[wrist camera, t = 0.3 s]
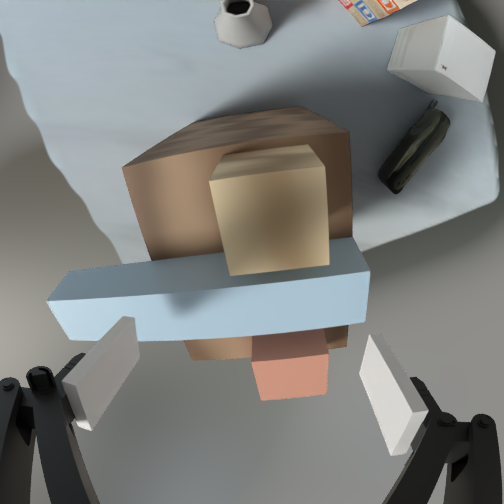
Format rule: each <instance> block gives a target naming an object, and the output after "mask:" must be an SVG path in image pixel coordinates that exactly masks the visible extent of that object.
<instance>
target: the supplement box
mask: <svg viewBox="0 0 504 504" xmlns="http://www.w3.org/2000/svg"><path fill="white" fill-rule="evenodd" d="M494 57H495V50H493V49H492V48H491V47H490V46H489V45H488V44H487V43H485V42H484V41H483V40H482V39H480V38H479V37H478V36H477V35H475V34H474V33H472V32H471V31H470V30H469V29H468V28H467V27H465V26H464V25H463V24H461V23H460V22H459V21H457V20H456V19H455V18H453V17H452V16H451V15H445V16H442V17H438V18H434V19H430V20H427V21H423V22H420V23H417V24H413V25H410V26H407V27H404V28H401V29H399V32H398V35H397V38H396V41H395V45H394V48H393V51H392V54H391V58H390V61H389V64H388V67H387V71H388V72H390V73H392V74H394V75H396V76H398V77H400V78H402V79H403V80H405V81H407V82H409V83H411V84H413V85H414V86H416V87H418V88H420V89H421V90H423V91H425V92H427V93H429V94H437V95H444V96H450V97H456V98H462V99H468V100H473V101H478V102H483V100H484V96H485V92H486V89H487V85H488V81H489V78H490V74H491V70H492V65H493V61H494Z"/></svg>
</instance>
